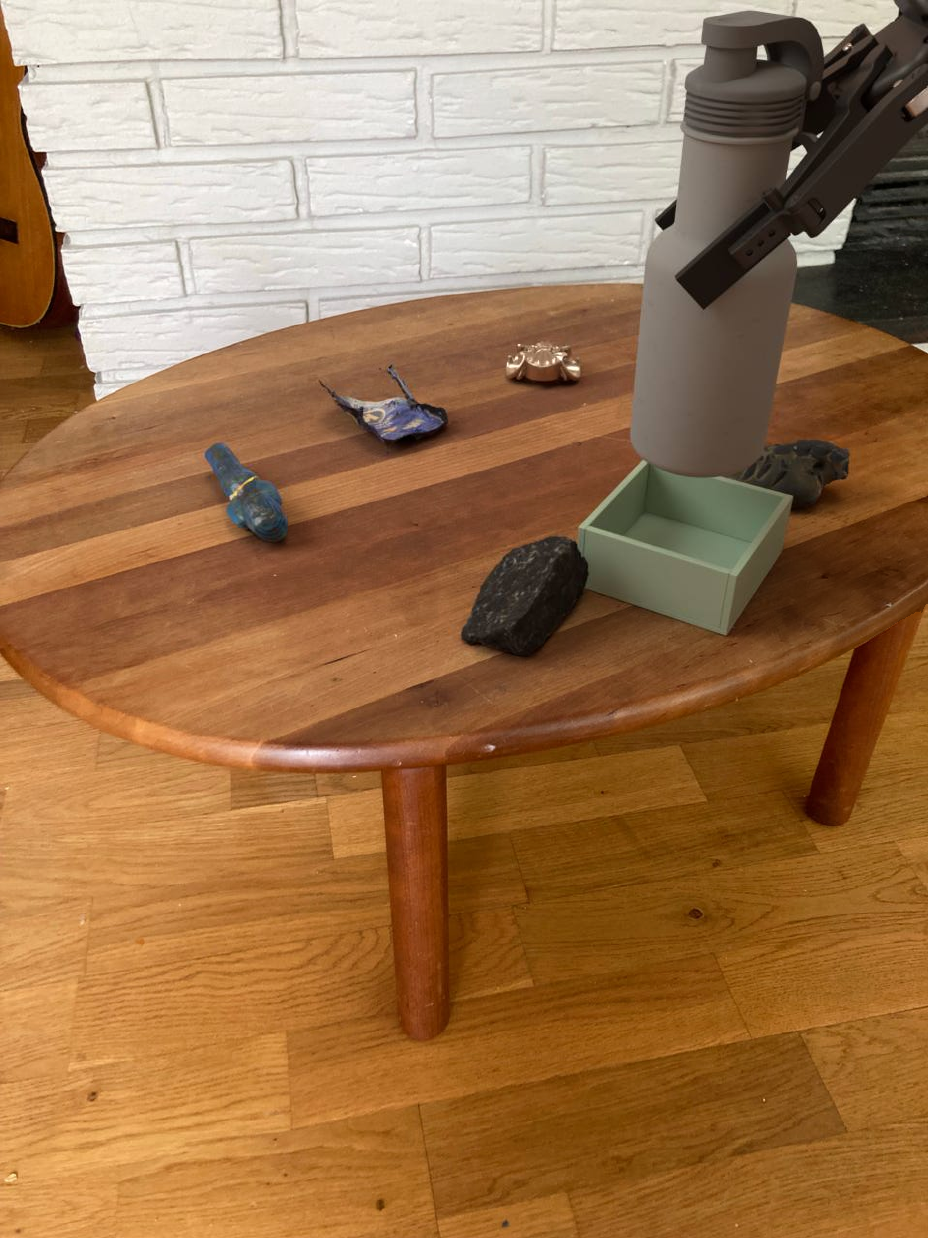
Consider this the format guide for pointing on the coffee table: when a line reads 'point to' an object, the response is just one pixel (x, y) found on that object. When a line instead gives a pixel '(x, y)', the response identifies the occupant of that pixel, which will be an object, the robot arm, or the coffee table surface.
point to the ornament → (543, 363)
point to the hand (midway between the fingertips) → (677, 262)
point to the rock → (527, 595)
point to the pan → (684, 544)
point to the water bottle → (706, 206)
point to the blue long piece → (248, 495)
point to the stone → (797, 469)
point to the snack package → (393, 414)
